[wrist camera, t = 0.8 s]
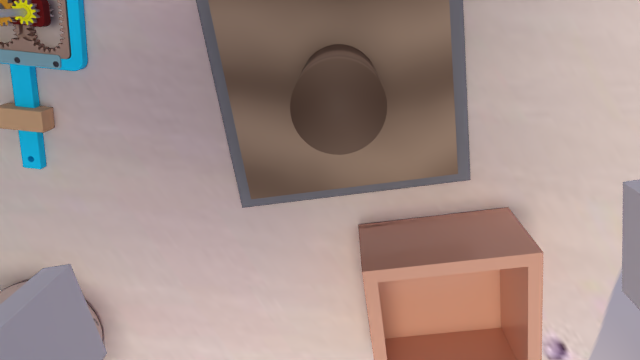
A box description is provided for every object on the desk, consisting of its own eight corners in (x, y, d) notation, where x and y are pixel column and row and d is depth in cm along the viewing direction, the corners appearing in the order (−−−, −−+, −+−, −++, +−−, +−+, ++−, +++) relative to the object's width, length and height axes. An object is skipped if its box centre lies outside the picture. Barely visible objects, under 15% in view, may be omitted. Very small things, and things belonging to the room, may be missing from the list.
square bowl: (358, 224, 33) (362, 271, 28) (508, 207, 32) (543, 252, 27) (374, 342, 37) (380, 405, 31) (509, 330, 36) (540, 392, 30)
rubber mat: (190, -35, 28) (188, -35, 27) (457, -79, 26) (459, -81, 26) (243, 204, 33) (242, 207, 33) (468, 177, 32) (470, 180, 31)
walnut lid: (209, -19, 28) (163, -22, 20) (441, -57, 26) (479, -75, 19) (254, 192, 32) (229, 249, 25) (453, 167, 31) (488, 220, 24)
